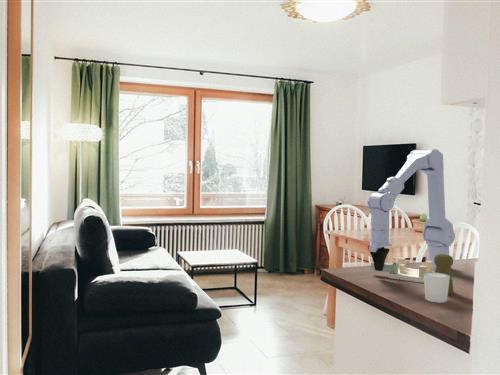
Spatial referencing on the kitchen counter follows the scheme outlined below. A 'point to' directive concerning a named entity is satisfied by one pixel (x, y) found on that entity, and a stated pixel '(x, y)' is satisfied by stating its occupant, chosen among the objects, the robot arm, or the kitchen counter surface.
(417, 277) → the stool seat
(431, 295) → the shot glass
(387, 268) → the hinged leg
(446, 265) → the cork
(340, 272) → the kitchen counter surface
